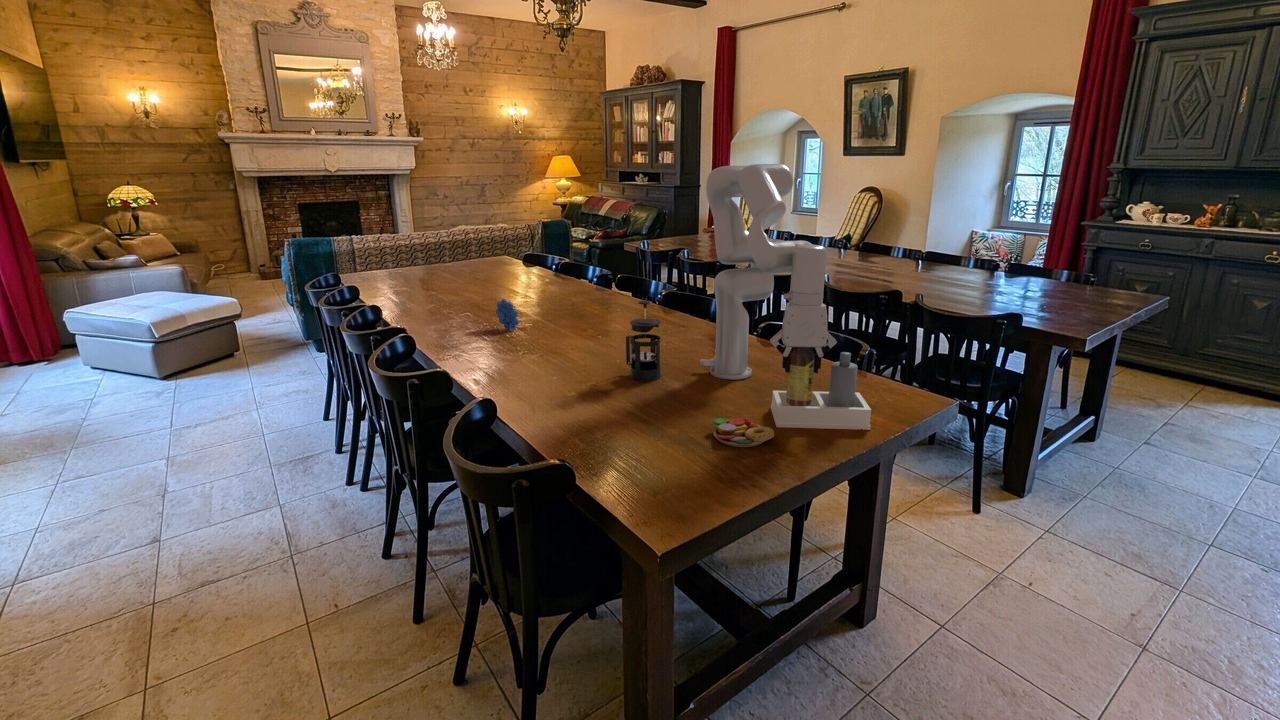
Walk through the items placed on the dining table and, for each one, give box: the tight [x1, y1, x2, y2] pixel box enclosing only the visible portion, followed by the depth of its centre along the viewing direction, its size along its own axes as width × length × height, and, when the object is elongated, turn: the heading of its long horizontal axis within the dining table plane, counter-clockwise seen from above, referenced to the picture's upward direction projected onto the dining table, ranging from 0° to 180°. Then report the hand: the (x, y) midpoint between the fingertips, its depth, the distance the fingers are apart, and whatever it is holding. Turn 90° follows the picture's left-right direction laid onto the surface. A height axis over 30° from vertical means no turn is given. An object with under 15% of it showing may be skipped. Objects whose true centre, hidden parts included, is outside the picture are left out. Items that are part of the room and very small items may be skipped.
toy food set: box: [712, 417, 775, 448], centre depth 141 cm, size 13×13×3 cm
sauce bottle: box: [786, 347, 815, 406], centre depth 147 cm, size 6×6×20 cm
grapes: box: [495, 298, 520, 331], centre depth 233 cm, size 12×7×12 cm, turn 53°
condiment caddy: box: [770, 351, 872, 431], centre depth 148 cm, size 22×12×17 cm, turn 85°
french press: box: [625, 300, 662, 382], centre depth 179 cm, size 12×9×23 cm
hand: (800, 370), depth 148 cm, fingers closed on sauce bottle, 6 cm apart
